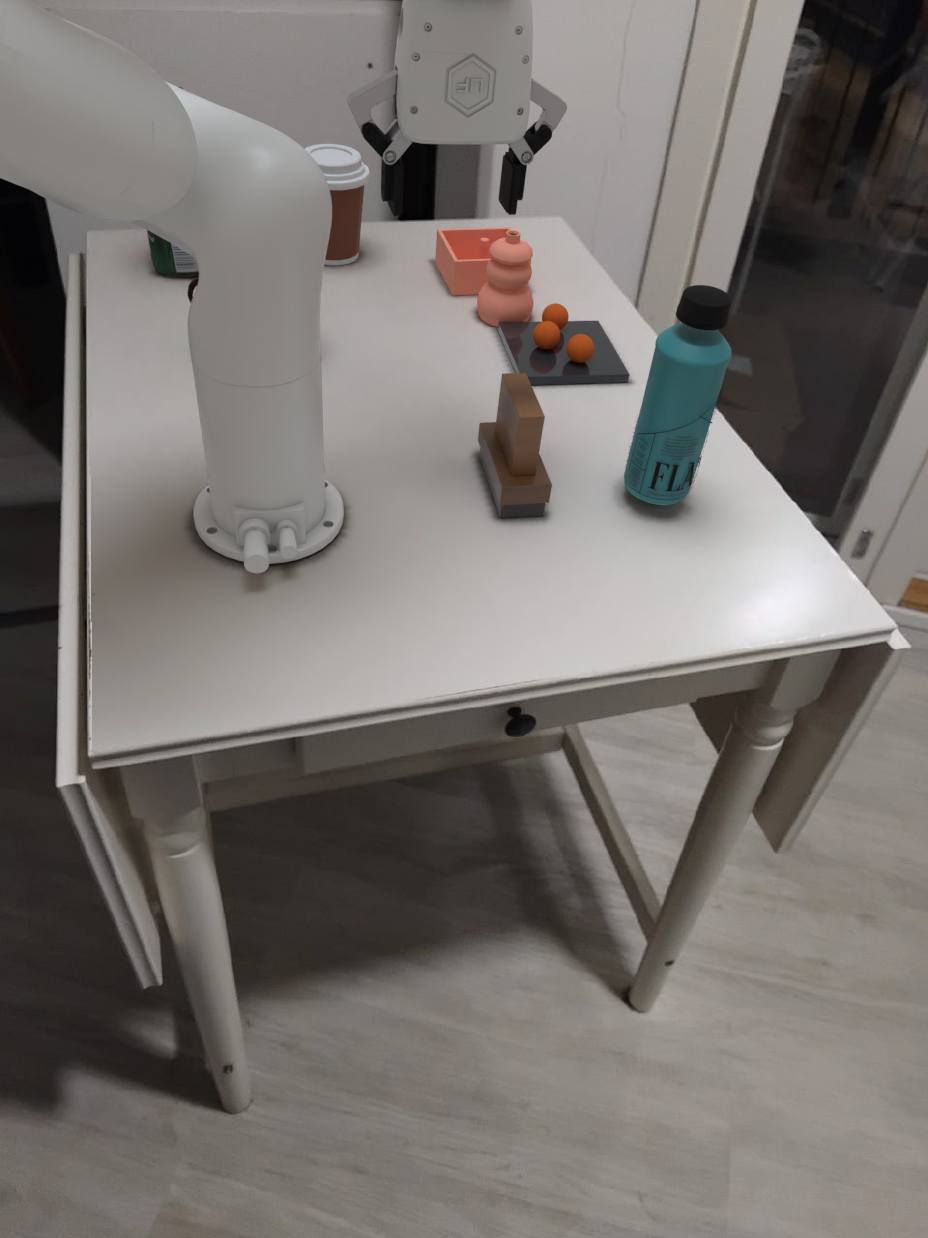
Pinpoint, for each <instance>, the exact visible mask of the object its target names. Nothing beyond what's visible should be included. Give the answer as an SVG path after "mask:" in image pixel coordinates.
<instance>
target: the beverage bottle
mask: <svg viewBox="0 0 928 1238" xmlns="http://www.w3.org/2000/svg"><path fill="white" fill-rule="evenodd" d="M731 306H732V297H731V296H730V294H729V293H727V292H726V291H725V290H723V289H721V288H718V287H715V286H711V285H705V284H695V285H690V286H687V287H686V288H685V289H684V290H683V291H682V294H681V297H680V299H679V303H678V305H677V306H676V310H675V317H676V319H677V320H678V321H679V323H676V324H674V325H671V326H669V327H668V328H666V329H665V330H663V331H662V332H660V333H659V334H658V336H657V337H656V339H655V342H654V343H655V344H654V345H655V347H654V351H653V355H652V359H651V364H650V368H649V372H648V375H647V380H646V384H645V389H644V393H643V396H642V401H641V405H640V408H639V413H638V416H636V420H635V422H636V424H635V427H634V430H633V432H632V433H633V435H632V437H631V439H632V441H631V443H630V445H629V446H628V452H627V453H628V456H626V460H625V461H626V462H625V463H626V464H625V465H624V473H623V481H624V485H625V488H626V489H627V491H628V493H630V495H633V496H634V497H635V498H636V499H639V500H641V501H643V502H645V503H648V504H652V505H657V506H669V505H675V504H678V503H680V502H682V501H683V500H684V499H686V497H687V496H688V495H689V494H690V493H691V489H692V486H693V485H694V482H695V481H696V480H695V479H696V478H697V475H698V471H699V470H698V469H699V468H700V466H701V461H702V457H703V456H702V453H705V452H704V451H705V450H704V447H705V443H707V441H708V436H709V435H710V430H709V429H710V425H711V424H713V422H712V420H714V418H713V417H714V414H716V411H717V407H718V405H719V403H720V399H721V396H722V391H723V388H722V386H723V382H724V384H725V383H726V382H725V381H724V380H725V379H724V378H725V376H726V371H727V368H728V366H729V365H728V363H729V362H730V360H731V357H732V348H731V346H730V344H729V342H728V341H727V339H726V338H725V337H724V335H723V334H722V333H721V332H720V331H719V330H722V329H724V328H726V326H727V325H728V322H729V318H730V311H731Z"/></svg>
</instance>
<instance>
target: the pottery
mask: <svg viewBox="0 0 928 1238" xmlns="http://www.w3.org/2000/svg"><path fill="white" fill-rule="evenodd" d="M521 235H522V234H521V232H520V231H519V230H516V229H512V228H511V227H510V226H508V227H474V228H470V227H469V228H437V229H436V238H435V239H436V240H435V241H436V243H435V256H434V257H435V259H434V263H435V265H436V267H437V269H438V271H439V273H440V275H441V276H442V279H443V281H444V282H445V284H446V286H447V288H448V290H449V292H450V294H451V296H473V295H475V296H476V295H477V298H476V299H477V300H476V304H477V312H478V317H479V320H481V321H483V322H484V323H485V324H487V325H488V326H492V327H494V328H495V327H496V328H498V322H529V320H530V317H531V315H532V312H533V310H534V298H533V297H534V296H533V293H532V291H531V289H530V287H529V282H530V280H531V278H532V274H533V269H532V258H533V255H534V253H533V248H532V247H531V245H529V243H528V242H527V241H525V240H523V239H521Z"/></svg>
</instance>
